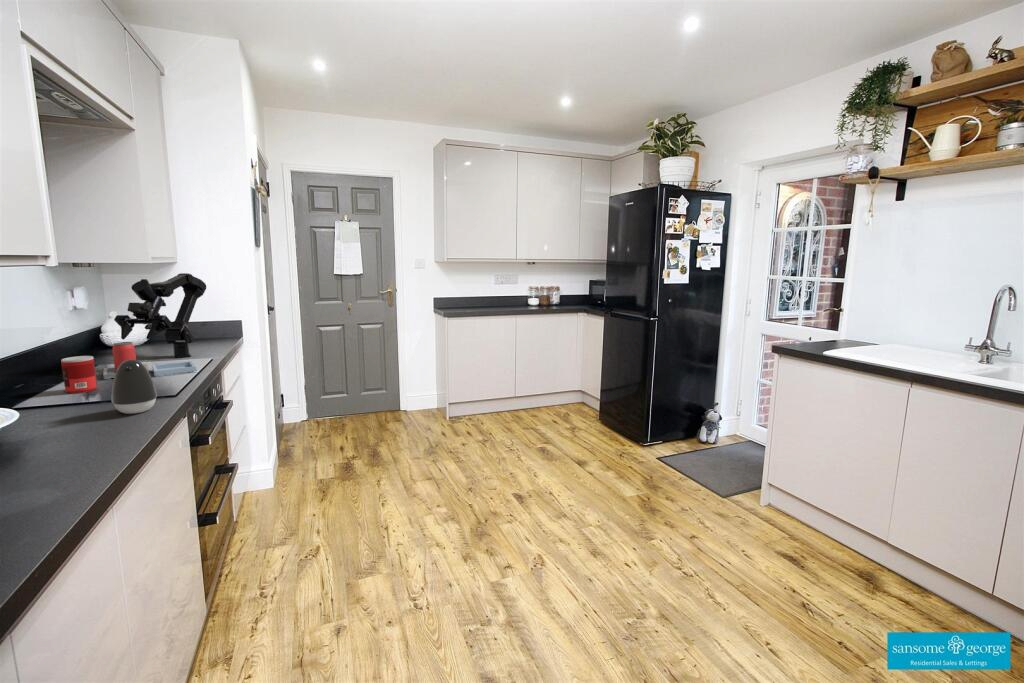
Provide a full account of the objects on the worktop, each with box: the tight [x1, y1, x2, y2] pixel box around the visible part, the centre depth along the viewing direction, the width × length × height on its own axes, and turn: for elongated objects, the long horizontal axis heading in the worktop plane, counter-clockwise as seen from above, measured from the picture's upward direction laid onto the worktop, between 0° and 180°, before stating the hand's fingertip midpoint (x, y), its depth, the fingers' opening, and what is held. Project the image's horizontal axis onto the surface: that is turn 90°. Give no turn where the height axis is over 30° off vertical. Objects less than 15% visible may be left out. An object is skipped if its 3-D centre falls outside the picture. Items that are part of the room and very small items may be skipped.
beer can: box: [111, 341, 137, 373], centre depth 179 cm, size 7×7×12 cm
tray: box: [151, 361, 198, 378], centre depth 185 cm, size 13×13×2 cm
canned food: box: [60, 355, 98, 394], centre depth 157 cm, size 8×8×11 cm
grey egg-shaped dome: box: [111, 359, 158, 415], centre depth 136 cm, size 10×10×15 cm
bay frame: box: [102, 363, 150, 380], centre depth 180 cm, size 13×13×2 cm
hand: (134, 338), depth 185 cm, fingers open, 9 cm apart
